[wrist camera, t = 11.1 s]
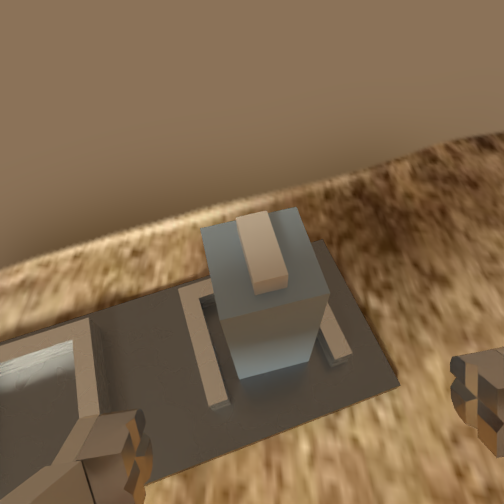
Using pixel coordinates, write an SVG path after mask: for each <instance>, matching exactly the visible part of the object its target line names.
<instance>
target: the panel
mask: <svg viewBox="0 0 504 504" xmlns="http://www.w3.org/2000/svg"><path fill="white" fill-rule="evenodd" d="M311 245H312V248H313V250H314V253H315V255H316V258H317V260H318V263H319V265H320V268H321V270H322V273H323V275H324V278H325V281H326V283H327V286H328V288H329V291H330V296H329V299H328V302H327V305H326V308H325V312H324V315H323V318H322V321H321V324H320V327H319V330H318V334H317V337H316V340H315V343H314V346H313V349H312V352H311V355H310V359H309V361H307V362H304V363H300V364H296V365H292V366H289V367H285V368H281V369H277V370H273V371H270V372H266V373H262V374H258V375H254V376H251V377H247V378H243V379H239V377H238V374H237V371H236V368H235V365H234V362H233V359H232V356H231V353H230V350H229V347H228V344H227V341H226V338H225V335H224V332H223V329H222V326H221V323H220V320H219V315H218V310H217V306H216V301H215V296H214V291H213V287H212V282H211V277H210V275H209V276H206V277H203V278H200V279H197V280H193V281H190V282H187V283H184V284H181V285H178V286H175V287H172V288H168V289H165V290H162V291H159V292H156V293H153V294H150V295H147V296H143V297H140V298H137V299H134V300H131V301H128V302H125V303H122V304H118V305H115V306H112V307H109V308H106V309H103V310H100V311H97V312H94V313H90V314H87V315H84V316H81V317H78V318H75V319H72V320H69V321H65V322H62V323H59V324H56V325H53V326H50V327H47V328H44V329H40V330H37V331H34V332H31V333H28V334H25V335H22V336H19V337H15V338H12V339H9V340H6V341H3V342H0V500H1V499H2V498H4V497H5V496H6V495H7V494H9V493H10V492H11V491H13V490H14V489H15V488H17V487H18V486H19V485H21V484H22V483H23V482H25V481H26V480H27V479H29V478H30V477H31V476H33V475H34V474H35V473H37V472H38V471H39V470H40V469H42V468H43V467H45V466H51V464H52V463H53V461H54V459H55V457H56V456H57V454H58V452H59V451H60V449H61V447H62V446H63V444H64V442H65V441H66V439H67V437H68V435H69V434H70V432H71V430H72V429H73V427H74V425H75V424H76V422H77V420H78V419H80V418H81V417H84V416H90V415H96V414H103V413H110V412H117V411H124V410H130V409H137V408H140V409H141V410H142V411H143V413H144V416H145V420H146V424H145V428H144V431H143V432H144V433H146V434H147V435H148V436H149V437H150V440H151V444H152V451H153V464H152V471H151V476H150V479H149V480H148V481H147V482H146V483H145V484H144V486H147V485H149V484H152V483H154V482H157V481H159V480H162V479H165V478H167V477H170V476H172V475H175V474H177V473H180V472H183V471H185V470H188V469H190V468H193V467H195V466H198V465H201V464H203V463H206V462H208V461H211V460H213V459H216V458H219V457H221V456H224V455H226V454H229V453H231V452H234V451H237V450H239V449H242V448H244V447H247V446H249V445H252V444H255V443H257V442H260V441H262V440H265V439H267V438H270V437H273V436H275V435H278V434H280V433H283V432H285V431H288V430H291V429H293V428H296V427H298V426H301V425H303V424H306V423H309V422H311V421H314V420H316V419H319V418H321V417H324V416H327V415H329V414H332V413H334V412H337V411H339V410H342V409H345V408H347V407H350V406H352V405H355V404H357V403H360V402H363V401H365V400H368V399H370V398H373V397H375V396H378V395H381V394H383V393H386V392H388V391H391V390H393V389H396V388H398V387H399V386H400V383H399V381H398V379H397V378H396V376H395V374H394V372H393V370H392V368H391V366H390V364H389V363H388V361H387V359H386V357H385V355H384V353H383V351H382V350H381V348H380V346H379V344H378V342H377V340H376V338H375V336H374V335H373V333H372V331H371V329H370V327H369V325H368V323H367V321H366V320H365V318H364V316H363V314H362V312H361V310H360V308H359V307H358V305H357V303H356V301H355V299H354V297H353V295H352V293H351V292H350V290H349V288H348V286H347V284H346V282H345V280H344V279H343V277H342V275H341V273H340V271H339V269H338V267H337V265H336V264H335V262H334V260H333V258H332V256H331V254H330V252H329V250H328V249H327V247H326V245H325V243H324V241H323V239H321V240H318V241H315V242H312V243H311Z"/></svg>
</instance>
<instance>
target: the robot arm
mask: <svg viewBox="0 0 504 504" xmlns="http://www.w3.org/2000/svg"><path fill="white" fill-rule="evenodd" d="M450 372H451V373H452V374H453V375H454V376H455V377H456V379H455V380H454V382H453V383H452V385H451V386H450V387H451V399H452V402H453V405H454V408H455V410H456V412H457V413H458V415H459V417H460V418H461V419H462V420H463V421H464V423H465V424H467V425H469V426H471V427H474V428H476V429H478V438H479V439H480V440H481V441H482V442H483V443H484V445H485V446H486V447H487V448H488V449H489V450H490V451H491V452H492V453H493V454H494V455H495V456H496V458H499V457H504V347H500V348H495V349H490V350H487V351H481V352H476V353H470V354H465V355H460V356H454V357H452V359H451V362H450ZM145 424H146V420H145V416H144V413H143V411H142V410H141V409H140V408H137V409H130V410H124V411H117V412H110V413H103V414H96V415H90V416H84V417H81V418H80V419H78V420H77V422H76V424H75V425H74V427H73V429H72V430H71V432H70V434H69V435H68V437H67V439H66V441H65V442H64V444H63V446H62V447H61V449H60V451H59V452H58V454H57V456H56V457H55V459H54V461H53V463H52V464H51V466H45V467H43V468H42V469H40V470H39V471H38V472H37V473H35V474H34V475H33V476H31V477H30V478H29V479H27V480H26V481H25V482H23V483H22V484H21V485H19V486H18V487H17V488H15V489H14V490H13V491H11V492H10V493H9V494H7V495H6V496H5V497H4V498H2V499H1V500H0V504H144V500H145V496H146V492H145V488H144V484H145V483H146V482H147V481H148V480H149V479H150V476H151V471H152V464H153V451H152V444H151V440H150V437H149V436H148V435H147V434H146V433H144V432H143V431H144V428H145Z"/></svg>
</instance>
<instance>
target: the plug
mask: <svg viewBox="0 0 504 504" xmlns="http://www.w3.org/2000/svg"><path fill="white" fill-rule="evenodd" d="M200 230H201V234H202V239H203V244H204V249H205V253H206V258H207V263H208V268H209V272H210V277H211V282H212V287H213V291H214V296H215V301H216V306H217V310H218V315H219V320H220V323H221V326H222V329H223V332H224V335H225V338H226V341H227V344H228V347H229V350H230V353H231V356H232V359H233V362H234V365H235V368H236V371H237V374H238V377H239V379H243V378H247V377H251V376H254V375H258V374H262V373H266V372H270V371H273V370H277V369H281V368H285V367H289V366H292V365H296V364H300V363H304V362H307V361H309V359H310V355H311V352H312V349H313V346H314V343H315V340H316V337H317V334H318V330H319V327H320V324H321V321H322V318H323V315H324V312H325V308H326V305H327V302H328V299H329V296H330V291H329V288H328V286H327V283H326V281H325V278H324V275H323V273H322V270H321V268H320V265H319V263H318V260H317V258H316V255H315V253H314V250H313V248H312V245H311V242H310V240H309V237H308V235H307V232H306V230H305V227H304V225H303V222H302V220H301V217H300V215H299V212H298V209H297V207H293V208H288V209H284V210H280V211H275V212H271V213H268V212H267V210H266V211H262V212H257V213H253V214H249V215H244V216H240V217H236V220H235V221H231V222H226V223H222V224H218V225H213V226H209V227H204V228H200Z"/></svg>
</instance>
